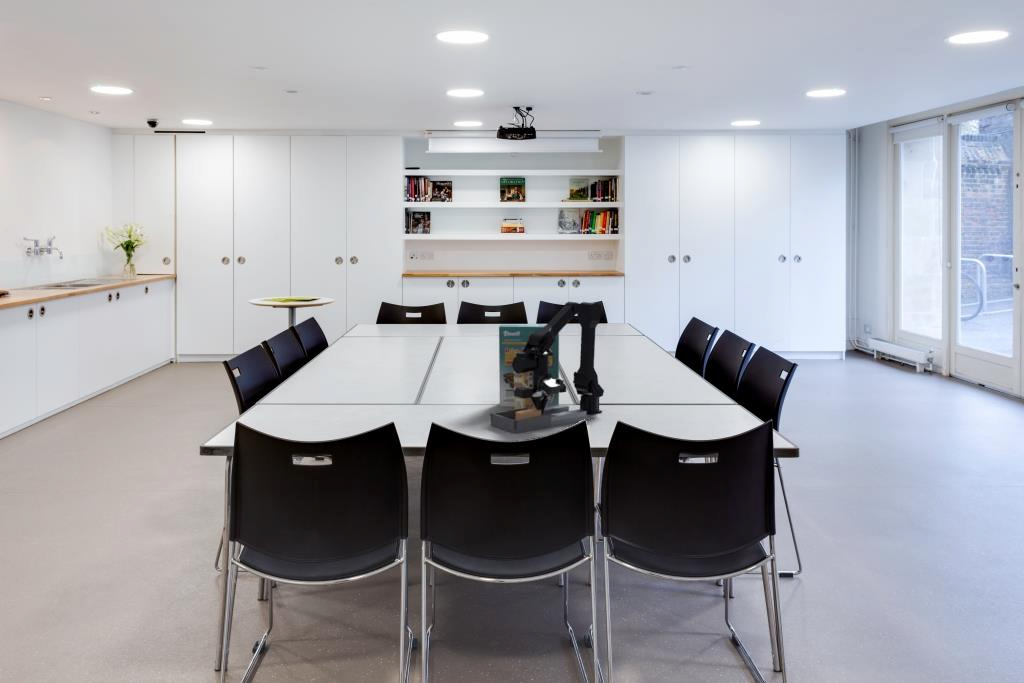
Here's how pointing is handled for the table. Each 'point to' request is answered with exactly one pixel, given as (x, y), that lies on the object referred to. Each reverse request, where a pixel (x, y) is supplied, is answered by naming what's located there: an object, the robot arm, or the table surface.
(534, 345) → the robot arm
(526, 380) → the candy box
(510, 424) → the tray
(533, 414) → the chip
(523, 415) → the tan cube
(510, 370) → the teal product box
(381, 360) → the table surface
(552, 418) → the slot board
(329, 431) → the table surface
